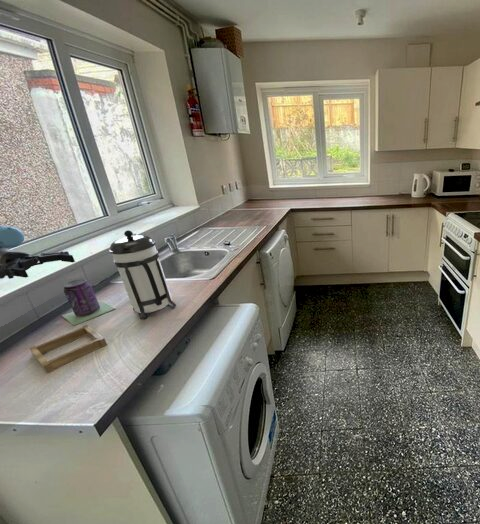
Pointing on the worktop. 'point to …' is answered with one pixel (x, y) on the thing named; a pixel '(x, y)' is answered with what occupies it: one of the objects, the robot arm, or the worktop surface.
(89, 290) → the beverage can
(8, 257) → the robot arm
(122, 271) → the coffee press
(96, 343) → the shallow wooden tray
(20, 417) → the worktop surface
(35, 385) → the worktop surface
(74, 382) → the worktop surface
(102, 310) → the mat
